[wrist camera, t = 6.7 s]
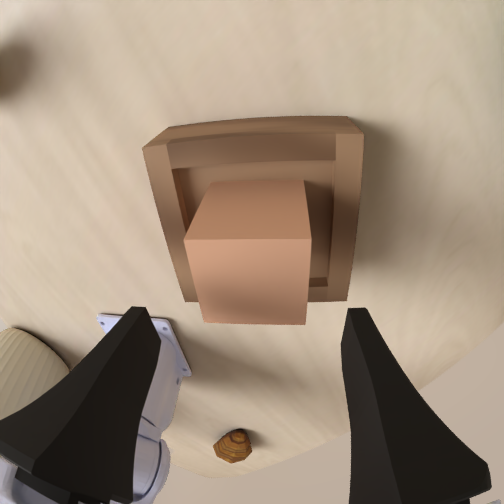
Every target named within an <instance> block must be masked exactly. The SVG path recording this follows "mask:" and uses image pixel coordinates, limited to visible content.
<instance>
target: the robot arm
mask: <svg viewBox="0 0 504 504" xmlns="http://www.w3.org/2000/svg"><path fill="white" fill-rule="evenodd" d="M96 318H97V321H98V322H99V324H100V325H101V327H102V329H103V330H104V332H105V333H106V335H105V336H104V337H103V339H102V340H101V341H100V342H99V343H98V344H97V345H96V346H95V347H94V348H93V349H92V350H91V352H90V353H89V354H88V355H87V356H86V357H85V358H84V359H83V360H82V361H81V362H80V363H79V364H78V365H77V366H76V367H75V368H74V369H73V370H72V371H71V372H70V373H69V374H67V375H66V376H65V377H64V378H63V379H62V380H61V381H59V382H58V383H57V384H56V385H55V386H53V387H52V388H51V389H49V390H48V391H47V392H45V393H44V394H43V395H42V396H40V397H39V398H37V399H36V400H35V401H33V402H32V403H30V404H29V405H27V406H25V407H24V408H22V409H20V410H19V411H17V412H15V413H13V414H11V415H9V416H7V417H5V418H3V419H2V420H0V455H1V456H3V457H4V458H6V459H7V460H9V461H10V462H12V463H14V464H15V465H17V466H18V468H17V467H16V466H14V465H12V464H10V463H9V462H8V461H6V460H4V459H2V458H1V457H0V504H152V503H153V501H154V499H155V497H156V495H157V494H158V493H159V492H160V491H161V489H162V488H163V486H164V484H165V482H166V479H167V476H168V473H169V468H170V451H169V449H168V447H167V444H166V442H165V441H164V440H163V439H160V438H161V434H162V432H163V431H164V430H165V429H166V428H167V427H168V426H169V425H170V423H171V421H172V418H173V414H174V410H175V406H176V402H177V398H178V394H179V390H180V386H181V382H182V378H183V376H187V377H189V376H191V375H192V372H191V369H190V367H189V365H188V363H187V361H186V359H185V356H184V354H183V352H182V350H181V348H180V345H179V343H178V341H177V339H176V336H175V334H174V332H173V329H172V327H171V325H170V323H169V321H168V320H166V319H158V318H150V316H149V313H148V311H147V309H146V307H133V306H132V307H131V308H130V309H129V310H128V311H127V312H126V313H125V314H124V315H123V316H116V315H105V314H98V315H97V317H96ZM341 358H342V372H343V378H344V385H345V391H346V398H347V405H348V411H349V419H350V428H351V480H350V482H351V483H350V496H349V504H470V499H469V498H471V497H474V496H476V495H479V494H481V493H483V492H486V491H488V490H490V489H491V487H492V485H491V477H490V472H489V468H488V464H487V463H486V462H485V461H484V460H483V459H481V458H480V457H479V456H478V455H476V454H475V453H474V452H473V451H472V450H471V449H470V448H468V447H467V446H466V445H465V444H464V443H463V442H462V441H461V440H460V439H459V438H458V437H457V436H456V435H455V434H454V433H453V432H452V431H451V430H450V429H449V428H448V427H447V426H446V425H445V424H444V423H443V421H442V420H441V419H440V418H439V417H438V416H437V415H436V414H435V413H434V411H433V410H432V409H431V408H430V407H429V405H428V404H427V403H426V402H425V401H424V399H423V398H422V397H421V396H420V394H419V393H418V391H417V390H416V389H415V387H414V386H413V385H412V383H411V382H410V380H409V379H408V377H407V376H406V374H405V373H404V372H403V370H402V368H401V367H400V365H399V364H398V362H397V361H396V359H395V357H394V356H393V354H392V353H391V351H390V349H389V348H388V346H387V344H386V343H385V341H384V339H383V338H382V336H381V334H380V332H379V331H378V329H377V327H376V325H375V323H374V321H373V319H372V318H371V316H370V314H369V312H368V310H367V309H366V308H348V311H347V316H346V321H345V326H344V331H343V336H342V341H341ZM488 504H501V500H496V501H493V502H491V503H488Z"/></svg>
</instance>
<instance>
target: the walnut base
mask: <svg viewBox="0 0 504 504" xmlns="http://www.w3.org/2000/svg"><path fill="white" fill-rule="evenodd" d="M363 146H364V134H363V133H362V132H361V131H360V130H359V128H358V127H357V126H356V125H355V124H354V123H353V122H352V121H351V120H350V119H349V118H348V117H347V116H285V117H263V118H247V119H234V120H223V121H214V122H205V123H196V124H188V125H181V126H174V127H168V128H167V129H165V130H164V131H163V132H162V133H160V134H159V135H158V136H156V137H155V138H154V139H153V140H151V141H150V142H149V143H147V144H146V145H145V146H144V147H143V148H142V150H143V155H144V159H145V163H146V167H147V171H148V176H149V180H150V184H151V188H152V191H153V195H154V199H155V203H156V207H157V210H158V214H159V218H160V221H161V225H162V228H163V232H164V235H165V239H166V242H167V246H168V249H169V253H170V256H171V259H172V262H173V266H174V269H175V272H176V275H177V278H178V282H179V285H180V288H181V291H182V294H183V297H184V300H185V302H199V301H198V297H197V293H196V289H195V285H194V282H193V278H192V274H191V270H190V265H189V261H188V257H187V253H186V249H185V244H184V238H185V235H186V233H187V231H188V229H189V227H190V225H191V222H192V220H193V218H194V216H195V214H196V212H197V210H198V208H199V206H200V204H201V201H202V199H203V197H204V195H205V193H206V191H207V189H208V187H209V185H210V183H211V182H224V181H254V180H304V187H305V194H306V201H307V208H308V215H309V223H310V230H311V238H312V241H311V258H310V274H309V288H308V301H307V302H334V301H347V296H348V290H349V284H350V277H351V270H352V263H353V256H354V249H355V241H356V232H357V223H358V214H359V204H360V192H361V180H362V165H363Z"/></svg>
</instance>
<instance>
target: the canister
mask: <svg viewBox="0 0 504 504" xmlns="http://www.w3.org/2000/svg"><path fill="white" fill-rule="evenodd" d="M69 373H70V372H69V370H68V367H67V366H66V364H65V363H64V362H63V360H62V359H61V358H60V357H59V356H58V355H57V354H56V353H55V352H54V351H53V350H52V349H51V348H50V347H48V346H47V345H46V344H45V343H43V342H42V341H40V340H39V339H37V338H36V337H34V336H32V335H31V334H28V333H27V332H24V331H22V330H19V329H15V328H9V329H6V330H4V331H2V332H1V333H0V420H2V419H3V418H5V417H7V416H9V415H11V414H13V413H15V412H17V411H19V410H20V409H22V408H24V407H25V406H27V405H29V404H30V403H32V402H33V401H35V400H36V399H37V398H39V397H40V396H42V395H43V394H44V393H45V392H47V391H48V390H49V389H51V388H52V387H53V386H55V385H56V384H57V383H58V382H59V381H61V380H62V379H63V378H64V377H65V376H66V375H67V374H69ZM0 457H1V455H0ZM1 458H2V457H1Z"/></svg>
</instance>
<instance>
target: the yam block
mask: <svg viewBox="0 0 504 504" xmlns="http://www.w3.org/2000/svg"><path fill="white" fill-rule="evenodd" d="M311 241H312V238H311V230H310V223H309V215H308V208H307V201H306V194H305V187H304V180H254V181H224V182H211V183H210V185H209V187H208V189H207V191H206V193H205V195H204V197H203V199H202V201H201V204H200V206H199V208H198V210H197V212H196V214H195V216H194V218H193V220H192V222H191V225H190V227H189V229H188V231H187V233H186V235H185V238H184V244H185V249H186V253H187V257H188V261H189V265H190V270H191V274H192V278H193V282H194V285H195V289H196V293H197V297H198V301H199V305H200V308H201V312H202V316H203V320H204V322H207V323H231V324H273V325H305V324H306V313H307V301H308V288H309V274H310V258H311Z"/></svg>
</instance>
